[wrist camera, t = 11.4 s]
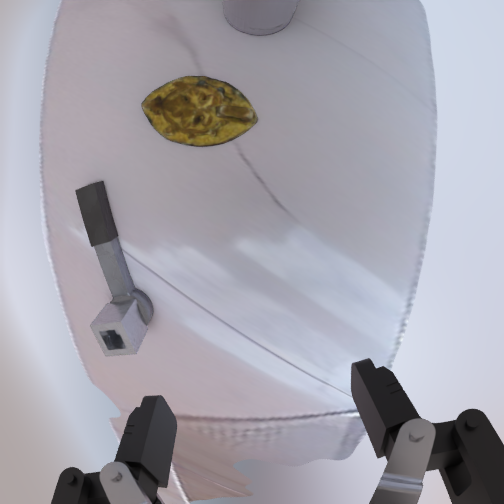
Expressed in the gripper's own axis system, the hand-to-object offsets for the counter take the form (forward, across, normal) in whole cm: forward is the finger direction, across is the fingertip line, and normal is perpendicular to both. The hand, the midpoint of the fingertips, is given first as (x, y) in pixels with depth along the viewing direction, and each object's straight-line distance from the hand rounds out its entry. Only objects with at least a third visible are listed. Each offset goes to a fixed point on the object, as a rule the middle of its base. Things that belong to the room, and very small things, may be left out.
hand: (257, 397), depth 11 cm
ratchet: (+28, +19, 0) cm, 34 cm away
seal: (+29, +2, -16) cm, 33 cm away
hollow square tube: (+25, +19, +8) cm, 32 cm away
